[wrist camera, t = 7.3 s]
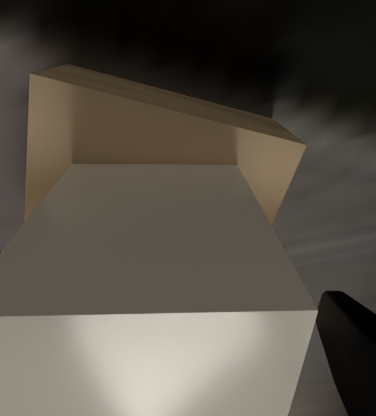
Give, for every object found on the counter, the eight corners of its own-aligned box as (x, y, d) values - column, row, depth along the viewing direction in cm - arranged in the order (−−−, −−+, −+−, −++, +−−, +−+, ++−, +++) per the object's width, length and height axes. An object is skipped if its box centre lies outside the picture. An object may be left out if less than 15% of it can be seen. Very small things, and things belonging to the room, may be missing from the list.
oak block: (213, 268, 17) (225, 329, 13) (54, 239, 15) (21, 299, 12) (269, 116, 13) (306, 145, 10) (70, 63, 12) (29, 73, 8)
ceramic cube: (224, 290, 12) (267, 484, 7) (90, 292, 12) (26, 496, 7) (237, 164, 10) (318, 309, 5) (71, 163, 10) (-51, 317, 4)
